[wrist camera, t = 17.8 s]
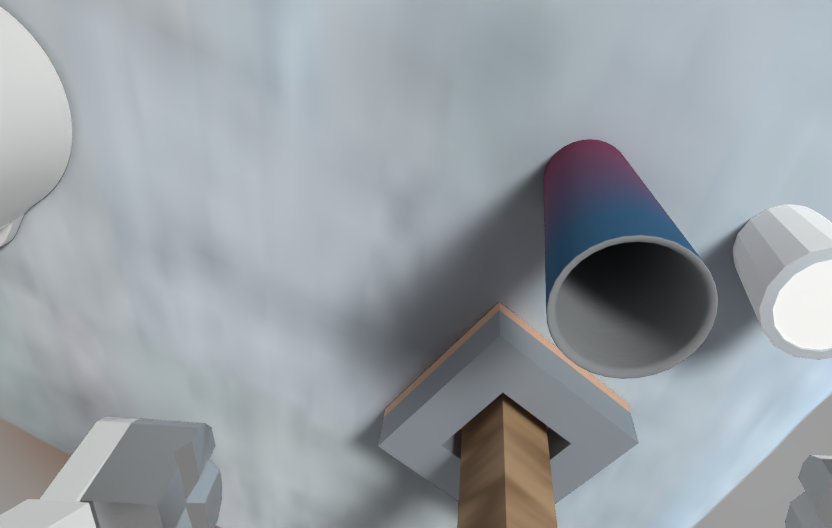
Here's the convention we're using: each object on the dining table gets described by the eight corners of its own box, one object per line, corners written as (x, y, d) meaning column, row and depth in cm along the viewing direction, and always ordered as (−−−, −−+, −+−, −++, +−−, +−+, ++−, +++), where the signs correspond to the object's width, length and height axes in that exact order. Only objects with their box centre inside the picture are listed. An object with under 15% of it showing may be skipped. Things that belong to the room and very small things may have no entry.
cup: (594, 251, 45) (640, 404, 31) (505, 194, 43) (513, 327, 30) (670, 165, 42) (755, 293, 28) (576, 100, 40) (620, 203, 27)
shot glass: (756, 179, 42) (803, 230, 35) (865, 213, 42) (931, 269, 36) (701, 278, 45) (735, 340, 39) (803, 309, 45) (854, 375, 39)
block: (504, 446, 51) (512, 697, 35) (462, 415, 50) (451, 659, 34) (544, 414, 49) (572, 662, 34) (502, 381, 48) (509, 621, 33)
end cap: (508, 495, 54) (510, 537, 51) (385, 408, 52) (377, 446, 48) (627, 403, 50) (638, 442, 46) (499, 301, 47) (499, 335, 43)
